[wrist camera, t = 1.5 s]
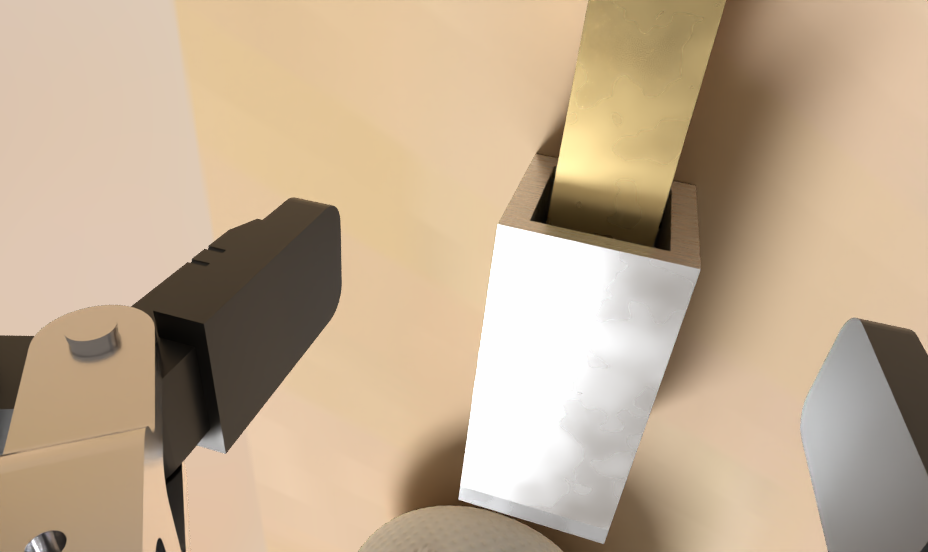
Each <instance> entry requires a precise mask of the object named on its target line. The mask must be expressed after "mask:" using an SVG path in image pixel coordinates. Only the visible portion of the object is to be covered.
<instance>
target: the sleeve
mask: <svg viewBox="0 0 928 552" xmlns="http://www.w3.org/2000/svg"><path fill="white" fill-rule="evenodd" d="M558 159H559V158H555V157H550V156H545V155H540V154H535V156H534V158H533V159H532V161H531V163H530V165H529V167H528V169H527V171H526V173H525V174H524V176H523V178H522V180H521V182H520V184H519V186H518V188H517V189H516V191H515V193H514V195H513V197H512V199H511V201H510V202H509V204H508V206H507V208H506V210H505V212H504V214H503V216H502V217H501V219H500V221H499V223H498V226H497V233H496V240H495V247H494V254H493V261H492V268H491V275H490V282H489V289H488V296H487V303H486V310H485V317H484V324H483V331H482V338H481V345H480V352H479V359H478V366H477V373H476V380H475V387H474V394H473V401H472V408H471V415H470V422H469V429H468V436H467V443H466V450H465V457H464V464H463V471H462V478H461V485H460V492H459V499H458V500H461V501H464V502H468V503H471V504H474V505H477V506H481V507H484V508H487V509H491V510H494V511H497V512H500V513H504V514H507V515H510V516H514V517H517V518H520V519H523V520H527V521H530V522H533V523H536V524H540V525H543V526H546V527H550V528H553V529H556V530H559V531H563V532H566V533H569V534H572V535H576V536H579V537H582V538H586V539H589V540H592V541H595V542H599V543H602V544H604V542H605V539H606V537H607V534H608V531H609V528H610V525H611V522H612V520H613V517H614V514H615V511H616V508H617V505H618V503H619V500H620V497H621V494H622V491H623V488H624V486H625V483H626V480H627V477H628V474H629V471H630V469H631V466H632V463H633V460H634V457H635V454H636V452H637V449H638V446H639V443H640V440H641V437H642V435H643V432H644V429H645V426H646V423H647V420H648V418H649V415H650V412H651V409H652V406H653V404H654V401H655V398H656V395H657V392H658V389H659V387H660V384H661V381H662V378H663V375H664V372H665V370H666V367H667V364H668V361H669V358H670V355H671V353H672V350H673V347H674V344H675V341H676V338H677V336H678V333H679V330H680V327H681V324H682V321H683V319H684V316H685V313H686V310H687V307H688V304H689V302H690V299H691V296H692V293H693V290H694V287H695V285H696V282H697V279H698V276H699V273H700V270H701V263H700V246H699V230H698V213H697V197H696V185H691V184H686V183H681V182H676V181H672V184H671V187H670V191H669V194H668V198H667V201H666V204H665V208H664V211H663V214H662V218H661V221H660V224H659V228H658V231H657V234H656V238H655V241H654V244H653V247H648V246H643V245H639V244H634V243H630V242H625V241H621V240H616V239H611V238H607V237H602V236H598V235H593V234H588V233H584V232H579V231H575V230H570V229H566V228H561V227H556V226H552V225H547V224H546V222H547V217H548V212H549V206H550V201H551V196H552V191H553V185H554V180H555V175H556V170H557V164H558Z"/></svg>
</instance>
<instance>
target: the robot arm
mask: <svg viewBox="0 0 928 552" xmlns="http://www.w3.org/2000/svg"><path fill="white" fill-rule="evenodd" d="M341 286H342V278H341V228H340V215H339V211H338V209H337V208H336V207H335V206H332V205H327V204H322V203H318V202H313V201H308V200H304V199H299V198H289V199H288V200H286V201H285V202H284V203H283V204H282V205H280V206H279V207H278V208H277V209H276V210H274V211H273V212H272V213H271V214H269V215H268V216H267V217H266V218H265V219H263V220H260V219H256V220H253V221H251V222H248V223H246V224H243V225H240V226H238V227H235V228H233V229H230V230H228V231H227V232H226V233H224V234H223V235H222V236H221V237H219V238H218V239H217V240H216V241H214V242H213V243H212V244H211V245H209V248H208V250H207V249H204V250H203V251H201V252H200V253H199V254H198V255H196V256H195V257H194V258H193V259H192V262H191V263H188V262H187V263H186V264H185V265H184V266H182V267H181V268H180V269H179V270H177V271H176V272H175V273H173V274H172V275H171V276H170V277H168V278H167V279H166V280H164V281H163V282H162V283H161V284H159V285H158V286H157V287H155V288H154V289H153V290H152V291H150V292H149V293H148V294H147V295H145V296H144V297H143V298H142V299H140V300H139V301H138V302H136V303H135V304H134V305H133V306H131V307H129V306H123V305H102V306H94V307H88V308H84V309H80V310H77V311H74V312H71V313H68V314H66V315H63V316H61V317H59V318H57V319H55V320H54V321H52V322H50V323H49V324H47V325H46V326H45V327H43V328H42V329H41V330H40V331H39V332H38V333H37V334H36V335H35V336H0V552H191V550H190V530H189V512H188V491H187V472H186V467H185V462H184V460H185V459H186V457H187V456H188V455H189V454H190V453H191V451H192V450H193V449H194V448H195V447H196V446H201V447H204V448H207V449H211V450H214V451H218V452H221V453H224V454H226V453H227V452H228V450H229V449H230V448H231V446H232V445H233V444H234V443H235V441H236V440H237V439H238V438H239V436H240V435H241V434H242V432H243V431H244V430H245V429H246V427H247V426H248V425H249V424H250V422H251V421H252V420H253V418H254V417H255V416H256V415H257V413H258V412H259V411H260V409H261V408H262V407H263V406H264V404H265V403H266V402H267V400H268V399H269V398H270V397H271V395H272V394H273V393H274V392H275V390H276V389H277V388H278V386H279V385H280V384H281V383H282V381H283V380H284V379H285V377H286V376H287V375H288V374H289V372H290V371H291V370H292V368H293V367H294V366H295V365H296V363H297V362H298V361H299V360H300V358H301V357H302V356H303V354H304V353H305V352H306V351H307V349H308V348H309V347H310V345H311V344H312V343H313V342H314V340H315V339H316V338H317V337H318V335H319V334H320V333H321V331H322V330H323V329H324V328H325V326H326V325H327V324H328V322H329V321H330V320H331V318H332V317H333V315H334V313H335V311H336V308H337V306H338V303H339V299H340V294H341ZM800 430H801V438H802V443H803V447H804V451H805V455H806V460H807V464H808V468H809V473H810V477H811V481H812V485H813V490H814V494H815V498H816V502H817V507H818V511H819V515H820V519H821V524H822V528H823V532H824V536H825V541H826V545H827V549H828V552H928V355H927V353H926V351H925V349H924V348H923V346H922V344H921V342H920V340H919V338H918V337H917V335H916V334H915V332H913V331H912V330H910V329H905V328H901V327H896V326H891V325H886V324H882V323H877V322H872V321H868V320H863V319H858V318H852V319H850V320H848V321H847V322H846V323H845V324H844V326H843V327H842V329H841V330H840V332H839V334H838V336H837V338H836V340H835V342H834V344H833V346H832V348H831V350H830V352H829V353H828V355H827V357H826V359H825V361H824V363H823V365H822V367H821V369H820V371H819V373H818V375H817V377H816V379H815V381H814V383H813V385H812V387H811V389H810V391H809V392H808V395H807V397H806V399H805V402H804V405H803V409H802V415H801V424H800Z"/></svg>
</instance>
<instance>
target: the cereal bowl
mask: <svg viewBox="0 0 928 552" xmlns="http://www.w3.org/2000/svg"><path fill="white" fill-rule="evenodd" d="M358 552H563V551H562V550H561V549H560V548H559V547H558V546H557V545H555V544H554V543H553V542H552V541H551V540H549V539H548V538H547V537H545V536H543V535H542V534H541V533H540V532H537V531H535V530H534V529H532V528H530V527H529V526H528V525H525V524H522V523H521V522H518V521H517V520H515V519H511V518H509V517H507V516H503V515H502V514H499V513H495V512H490V511H488V510H486V509H480V508H474V507H466V506H452V505H451V506H450V505H447V506H434V507H426V508H421V509H418V510H412V511H410V512H409V513H404V514H402V515H400V516H399V517H396V518H394V519H392V520H391V521H390V522H388V523H385V524H384V525H383V526H382V527H381V528H379V529H377V530H376V531H375V532H374V534H372V535H371V536H370V537H369V538H368V539H367V541H366V542H365V543H364V544H363V545H362V546H361V548H360V549H359V551H358Z"/></svg>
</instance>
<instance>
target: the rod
mask: <svg viewBox="0 0 928 552" xmlns="http://www.w3.org/2000/svg"><path fill="white" fill-rule="evenodd" d="M725 3H726V0H589V1H588V6H587V11H586V16H585V22H584V27H583V32H582V38H581V43H580V48H579V53H578V59H577V64H576V69H575V75H574V80H573V85H572V90H571V96H570V101H569V106H568V111H567V117H566V122H565V127H564V133H563V138H562V143H561V148H560V154H559V159H558V164H557V170H556V175H555V180H554V185H553V191H552V196H551V201H550V206H549V212H548V217H547V222H546V224H547V225H552V226H556V227H561V228H566V229H570V230H575V231H579V232H584V233H588V234H593V235H598V236H602V237H607V238H611V239H616V240H621V241H625V242H630V243H634V244H639V245H643V246H648V247H653V244H654V241H655V238H656V234H657V231H658V228H659V224H660V221H661V218H662V214H663V211H664V208H665V204H666V201H667V198H668V194H669V191H670V187H671V184H672V181H673V177H674V174H675V171H676V167H677V164H678V161H679V157H680V154H681V151H682V147H683V144H684V141H685V137H686V134H687V130H688V127H689V124H690V120H691V117H692V114H693V110H694V107H695V104H696V100H697V97H698V94H699V90H700V87H701V83H702V80H703V77H704V73H705V70H706V67H707V63H708V60H709V57H710V53H711V50H712V47H713V43H714V40H715V37H716V33H717V30H718V26H719V23H720V20H721V16H722V13H723V10H724V6H725Z"/></svg>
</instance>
